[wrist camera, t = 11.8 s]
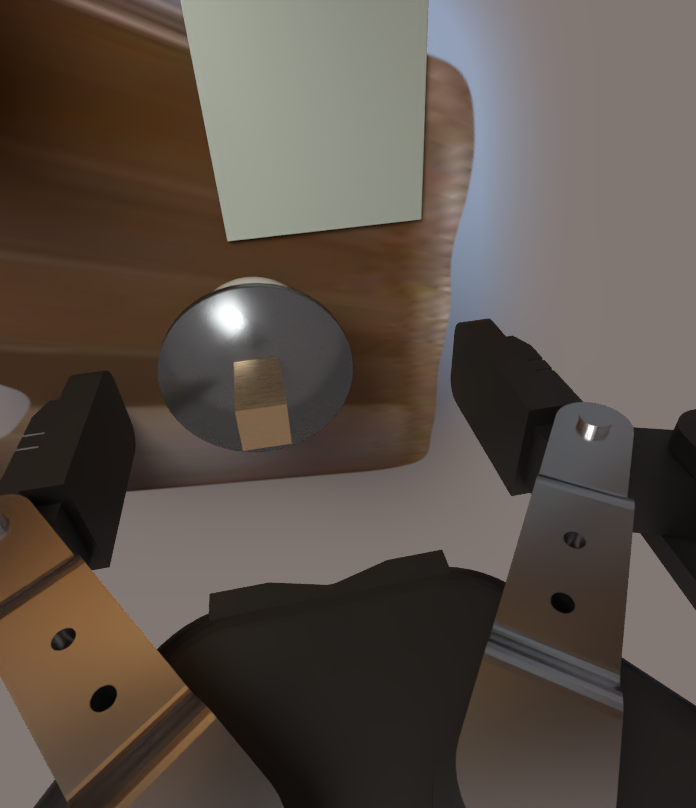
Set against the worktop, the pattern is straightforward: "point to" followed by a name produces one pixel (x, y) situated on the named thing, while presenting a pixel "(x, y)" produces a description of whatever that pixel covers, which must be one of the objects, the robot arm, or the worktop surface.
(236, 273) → the worktop surface
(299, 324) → the lid
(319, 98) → the mat
